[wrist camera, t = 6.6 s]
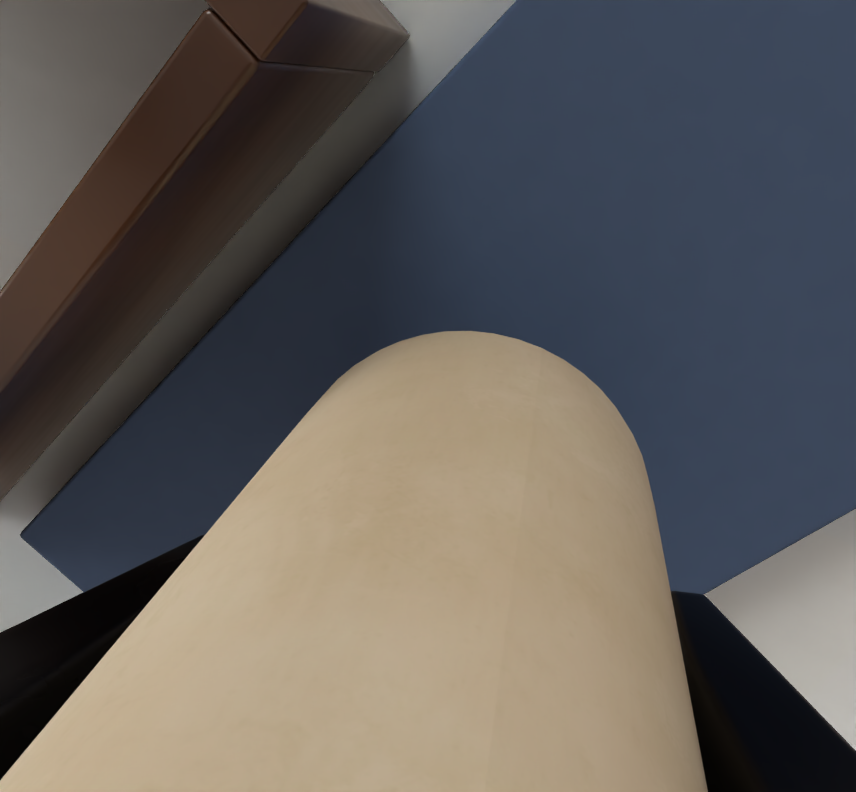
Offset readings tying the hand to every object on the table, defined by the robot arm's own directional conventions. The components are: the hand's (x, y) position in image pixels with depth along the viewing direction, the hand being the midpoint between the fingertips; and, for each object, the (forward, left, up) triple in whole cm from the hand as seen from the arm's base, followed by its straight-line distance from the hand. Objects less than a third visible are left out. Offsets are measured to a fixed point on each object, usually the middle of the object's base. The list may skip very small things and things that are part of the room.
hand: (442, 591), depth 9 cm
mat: (0, 0, -6) cm, 6 cm away
